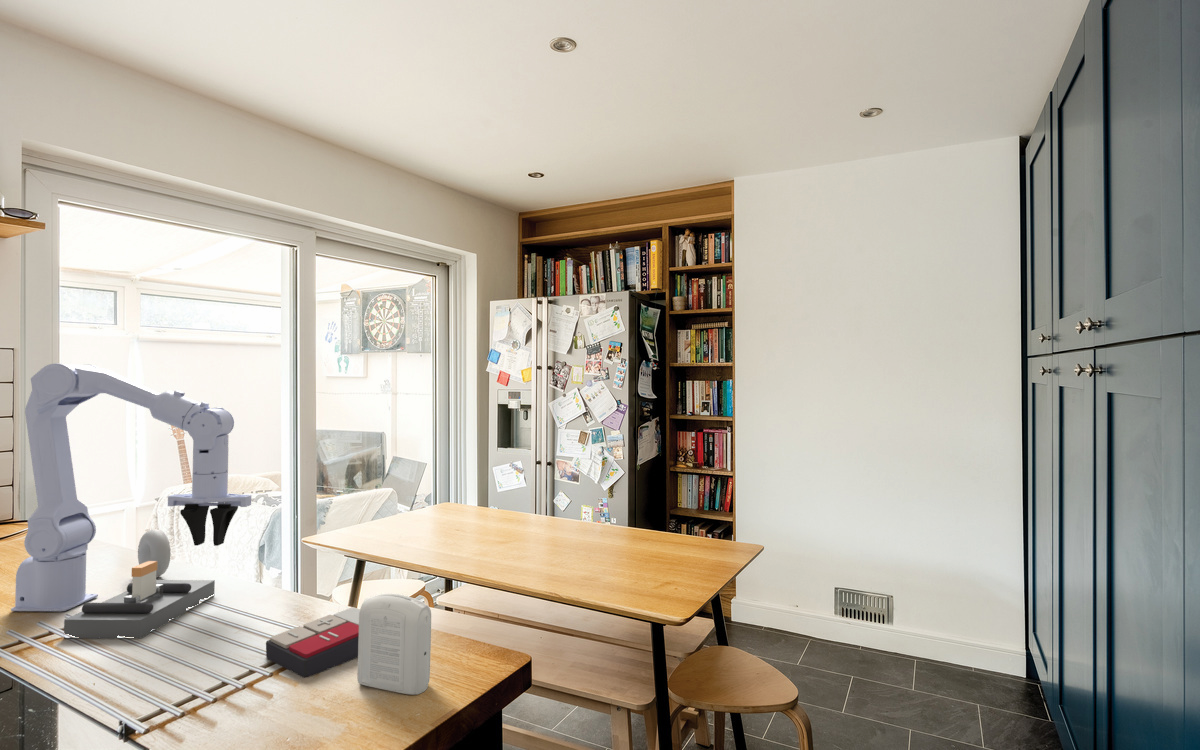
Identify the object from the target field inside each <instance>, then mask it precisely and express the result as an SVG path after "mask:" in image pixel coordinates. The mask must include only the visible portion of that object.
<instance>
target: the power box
mask: <svg viewBox="0 0 1200 750" xmlns="http://www.w3.org/2000/svg"><path fill="white" fill-rule="evenodd" d="M215 583H216V582H215V579H209V580H208V579H156V593H155V595H154V596H152V597H150V598H148V599H146V600H144V601H142V602H140V595H132V582H130V583H128V585H127V587H126V591H123V592H122V593H119V594H117V595H115V596H113V597H111V598H109V599H106V600H104V601H102V602H84V604H83V605H82V607H81V611H80V612H78V613H75V614H74V615H71V616H68V617H67V618H65V619H64V621H63V634H64V633H65V634H69V635H72V636H75V637H79V638H78V639H86V638H87V639H95V640H96V639H97V640H98V639H99V640H100V639H104V640H105V639H109V640H110V639H112V640H114V639H115V638H117V636H118V635H119V636H125V637H134V638H140V639H142V638H143V637H146V636H148V635H149V634H151V633H150V631H151V630H152V629H156V630H157V628H158V629H160V628H162V627H163V626H165V625H167V624H169V622H168V621H169V619H172V618H175V619H177V618H178V616H179V617H180V616H182V615H184V614H185V612H186V608H188V607H192V606H195V605H197V604H199V600H200V599H204V598H208V597H209V596H211V595H213V594H214V595H215ZM199 605H200V604H199ZM186 613H187V612H186ZM176 617H177V618H176ZM164 624H165V625H164ZM159 627H160V628H159Z"/></svg>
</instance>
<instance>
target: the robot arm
mask: <svg viewBox="0 0 1200 750" xmlns="http://www.w3.org/2000/svg"><path fill="white" fill-rule="evenodd" d="M30 383H31V392H30V394H29V398H28V400H27V403H26V405H25V407H24V408H25V409H24V414H25V421H26V423H25V424H26V428H27V436H28V443H29V450H30V451H29V452H30V456H31V465H32V471H33V481H34V486H35V487H34V488H35V493H36V500H37V501H36V502H37V507H36V509H35V510H34V512H33V513H32V514H30V516H29V518H28V519H27V532H26V535H25V537H24V541H23V542H24V543H23V545H24V549H25V551H26V552H27V554H28V555H29V557H27V558H25V559H24V560H23V561H21V563H20V565H19V566H18V568H17V570H16V574H15V602H14V607H11V608H10V611H11V612H65V611H68V610H71V609H73V608H75V607H77V606H79V605H82V604H83V603H84V604H85V603H87V602H89V601H90V600H94V599H95V598H98V597H99V594H98V593H86V591H87V590H86V587H87V585H86V583H87V552H88V551H87V550H89V549H88V546H89V543H91V542H92V541H93V540H94V538H95V536H96V533H97V529H96V527H97V526H96V523H95V522H94V521H93V519H92V518H91V517H90V514H89V510H88V509H89V508H88V506H86V505H85V504H84V503H82V501H80V500H79V498H78V496H77V487H76V482H75V474H74V467H73V466H74V465H73V461H72V459H73V458H72V452H71V445H70V444H71V443H70V438H69V431H68V429H69V428H68V423H67V416H68V415H69V414H70V413H72V411H73V410H75V409H76V408H77V407H78V406H79V405H80V404H82V403H85V402H86V401H89V400H91V399H93V398H95V397H97V396H98V395H100V394H106V395H109V396H112V397H116V399H117V398H118V399H120V400H123V401H126V402H129V403H133V404H135V405H137V406H140V407H143V408H146V409H148V411H150V414H151V416H152V418H153V419H155V420H158V421H160V422H162V423H165V424H168V425H170V426H173V427H175V428H178V429H180V430H182V431H185V432H187V433H188V435H189V436H190V437H191V438H192V442H193V443H192V444H193V445H192V480H191V481H192V482H191V484H192V485H191V493H183V494H182V493H180V494H179V493H178V494H175V493H174V494H172V495H168V496H167V507H175V506H177V507H178V506H179V507H180V506H181V507H183V506H184V507H183V509H180V511H179V512H180V515H181V517H182V518H183V519H184V521H185V523H186V525H187V527H188V529H189V531H190V534H191V538H192V541H193V545H194V546H200V545H202V544H205V541H206V524H207V519H208V518H207V517H208V513H210V516H211V517H210V518H211V521H212V527H213V529H212V530H213V531H212V532H213V533H212V534H213V535H212V536H213V537H212V538H213V540H212V542H213V546H215V547H216V546H217V547H218V546H220V545H222V544H224V542H225V538H226V536H227V531H228V529H229V526H230V523H231V522H232V520H233V518H234V516H235V514H236V513H237V511H238V509H239V507H240V508H247V507H249V506H252V495H251V494H240V493H239V494H238V493H229V490H228V489H229V487H228V486H229V485H228V483H229V481H228V480H229V434H230V433H232V431H233V429H234V428H235V427H234V426H235V420H234V417H233V414H232V413H230V412H229V411H227V410H226V409H225V408H223V407H219V406H218V407H211V408H210V406H209V405H210V403H208V402H207V401H201V402H199V401H196V400H194V399H192V398H189V397H187V396H185V394H186V393H185V392H184V391H181V390H173V391H172V390H166V391H164V392H161V393H160V392H157V391H155V390H153V389H151V388H149V387H147V386H144V385H142V384H140V383H138V382H135V381H134V380H131V379H129V378H126V377H124V376H122V375H120V374H118V373H116V372H114V371H112V370H110V369H106V368H100V367H99V366H96V365H94V364H65V363H64V364H63V363H59V362H58V363H57V362H55V363H54V362H53V363H50V364H46V365H45V366H43V367H42V368H40V369H39V370H38V371H37V372H36V373H35V374H34V375H33V376H32V377H30ZM210 507H214V508H210Z"/></svg>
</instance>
